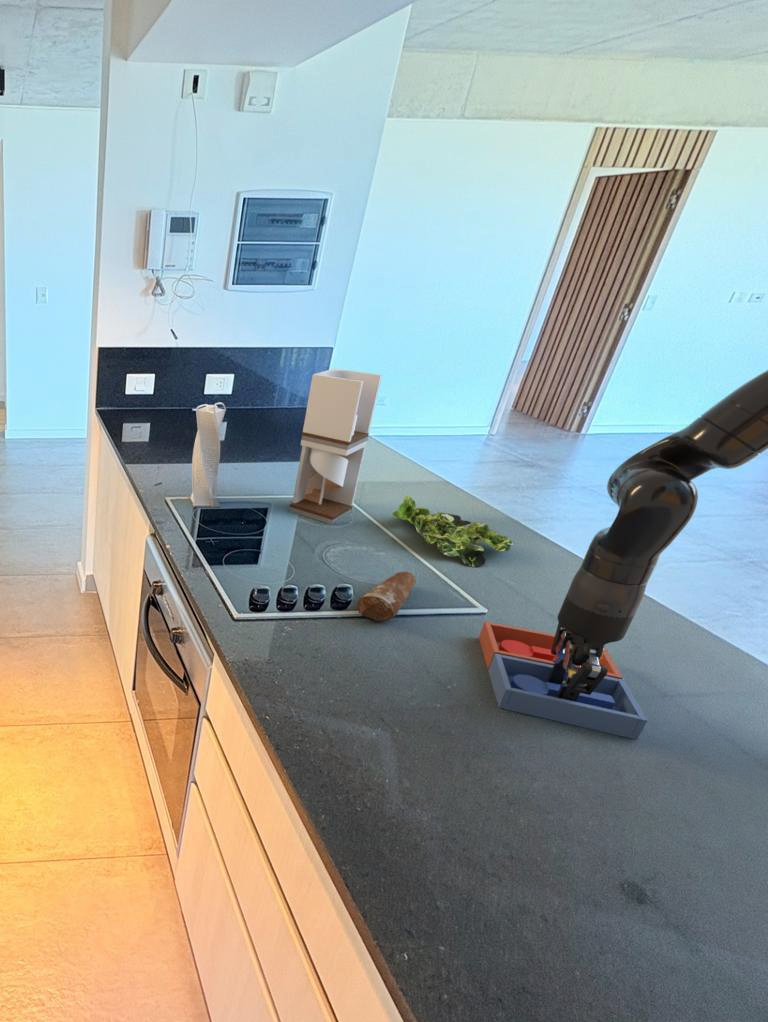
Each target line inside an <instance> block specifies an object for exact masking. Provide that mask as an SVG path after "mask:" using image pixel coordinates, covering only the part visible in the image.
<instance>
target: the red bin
mask: <svg viewBox="0 0 768 1022" xmlns="http://www.w3.org/2000/svg"><path fill="white" fill-rule="evenodd" d="M555 634H556V633H549V632H543V631H539V630H534V629H527V628H523V627H517V626H513V625H512V626H511V625H508V624H507V625H506V624H501V623H496V622H491V621H484V623H483V625H482V628H481V630H480V632H479V636H478V640H479V644H480V647H481V651H482V654H484V655H483V658H484V661H485V666H486V669H487V670H489V667H490V664H491V662H492V659H493V657H494V654H495V653H496V654H500V655H505V656H510V657H515V658H520V659H525V660H530V661H534V662H539V663H544V664H549V665H554V664H553V661H549V660H544V659H539V658H534V657H529V656H524V655H520V654H515V653H510V652H505V651H500V650H499V646H500V644H501V642H502V641H504V640H515V641H519V642H522V643H524V644H526V645H528V646H529V647H531V646H535V647H540V648H545V649H550V650H551V649H552V646H553V642H554V638H555ZM609 653H610V652H609V651H608V650H607V648H606V647H605V645H604V653H603V657H602V658H601V659H600V660H599V665H600V666H604V667H607V669H608V673H607V675H606V676H608V677H613V678H617V679H623V680H624V677H623V676H622V673H621V672H620V671H619V669H618V667H617V665H616V664H615V662H614V660H613V658H612V657H611V655H610V654H609ZM575 667H579V666H575Z"/></svg>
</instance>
